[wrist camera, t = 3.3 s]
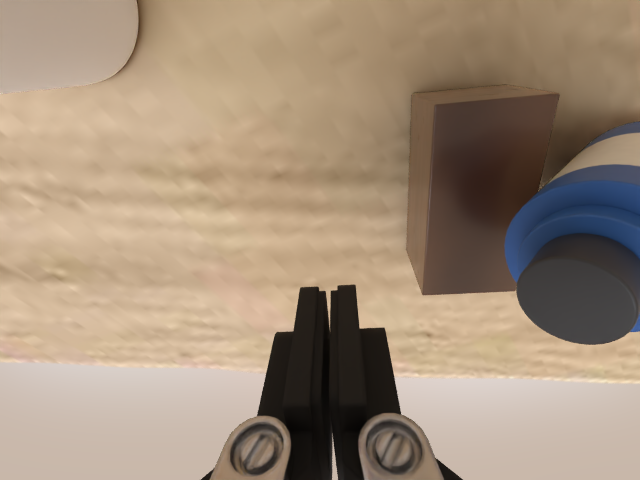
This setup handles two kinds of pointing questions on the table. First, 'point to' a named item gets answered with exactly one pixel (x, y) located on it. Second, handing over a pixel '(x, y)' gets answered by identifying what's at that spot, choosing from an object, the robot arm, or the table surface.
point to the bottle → (583, 244)
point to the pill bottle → (64, 42)
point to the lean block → (472, 181)
